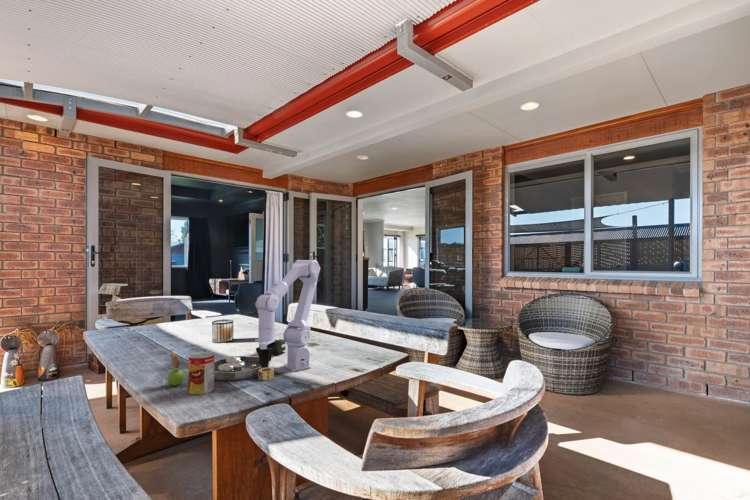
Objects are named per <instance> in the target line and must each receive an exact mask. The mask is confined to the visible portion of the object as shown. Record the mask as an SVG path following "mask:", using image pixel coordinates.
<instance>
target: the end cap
mask: <svg viewBox="0 0 750 500" xmlns="http://www.w3.org/2000/svg"><path fill="white" fill-rule="evenodd" d="M275 341H276V344H275V346H274V349H273V353H272V355H277V356H281V355H284V354H285V353H286V351H285V350H286V346H283V345H285V344H286V342H285V340H284V338H282V339H281V338H280V339H275ZM258 344H259V343H258ZM286 345H287V344H286ZM259 347H260V344H259V345H258V348H259Z"/></svg>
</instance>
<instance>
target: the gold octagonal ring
mask: <svg viewBox="0 0 750 500" xmlns="http://www.w3.org/2000/svg"><path fill="white" fill-rule="evenodd" d="M257 378H258V380H259V381H270V380H273V379H274V378H275V368H273V367H270V366H269V367H268V368H261V369H259V371H258V376H257Z"/></svg>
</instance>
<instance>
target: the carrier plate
mask: <svg viewBox="0 0 750 500" xmlns="http://www.w3.org/2000/svg"><path fill="white" fill-rule="evenodd" d="M268 367H270V362H269V363H268ZM268 367H267V368H268ZM259 369H261V364H260V359H259V356H256V355H255V356H254V355H238V356H237V355H232V356H227V357H225V358H220V359H217V360H214V381H220V382H237V381H242V380H243V381H244V380H248V379H253V378H258V371H259Z"/></svg>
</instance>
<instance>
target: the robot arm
mask: <svg viewBox="0 0 750 500" xmlns="http://www.w3.org/2000/svg"><path fill="white" fill-rule="evenodd" d="M320 272H321V267H320V264H319V262H318V261H317V260H316V259H296V260H295V261H294V263H292V265H291V269H290V270H289V271H288V272H287V274H286V275H284V277H283V279H282V280H279V281H278V280H277V281H275V282H273V284H272V286H271V287H270V288H269V289H268V290H266V292H265V293H264V294H260V295H259V296H258V297H257V299H256V301H255V303H254V305H255V307H256V309H257V314H258V338H255V340H254V342H255V343H258V344H260V347H259V346H258V347H256V348H255V352H256V354H257V355H258V357H259V359H260V364H261V368H267V367H268V363H269V364H270V362H272V358H273V357H272V356H273V354H272V353H273V349H274V346H275V344H276V341H275V340H276V338H275V337H276V336H275V330H276V329H275V328H276V327H275V325H276V324H275V322H276V321H275V320H276V319H275V318H276V314H275V313H276V309H278V307H279V304H280V301H281V299H282V298H283V297H284V296H285V295H286V294H287V293H288V291H289V287H290V286H291V285H292V284H293V283H294V282H295V281H296V280H297V279H298V278H299V280H300V281H302V283H303V284H302V288H301V292H300V296H299V299H298V303H297V307H296V310H295V314H294V316H293V319H292V320H290V322H288V324H287V327H286V328H285V329H284V331H283V338H282V339H284V340H285V342H286V345H287V363H284V364H283V367H284V368H287V369H288V370H291V371H292V372H295V371H301V370H305V369H310V368H312V366H311V365H310V351H309V349H308V348H307V345H308V343H309V342H310V339H311V326H310V325H309V324H308V318H309V314H310V311H311V306H312V303H313V299H314V297H315V296H314V295H315V292H316V289H317V284H318V283H317V282H318V279H319V276H320Z"/></svg>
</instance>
